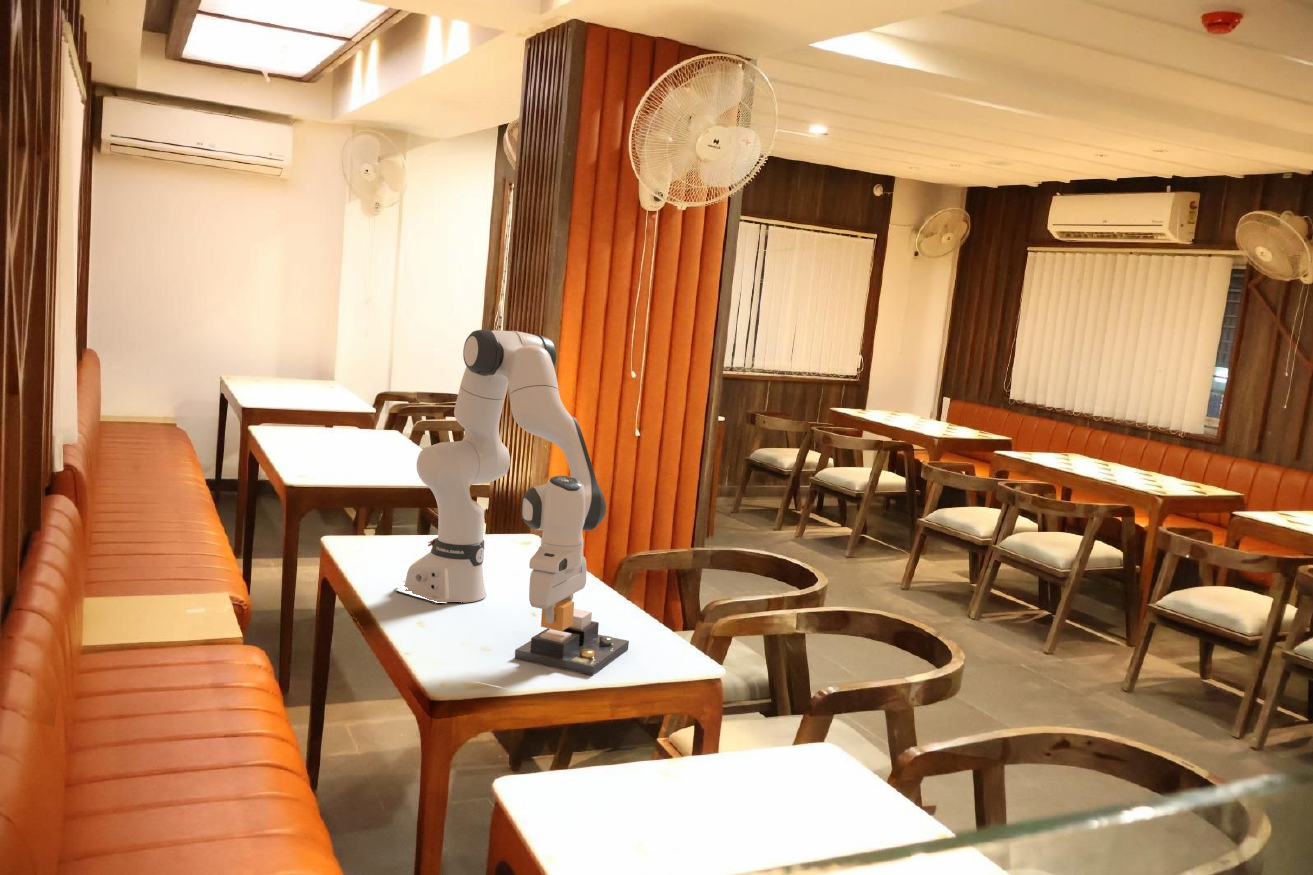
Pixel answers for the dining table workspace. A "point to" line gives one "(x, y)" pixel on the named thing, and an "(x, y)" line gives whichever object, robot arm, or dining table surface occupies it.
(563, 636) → the block
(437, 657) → the dining table surface
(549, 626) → the block
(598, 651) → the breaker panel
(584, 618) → the block
